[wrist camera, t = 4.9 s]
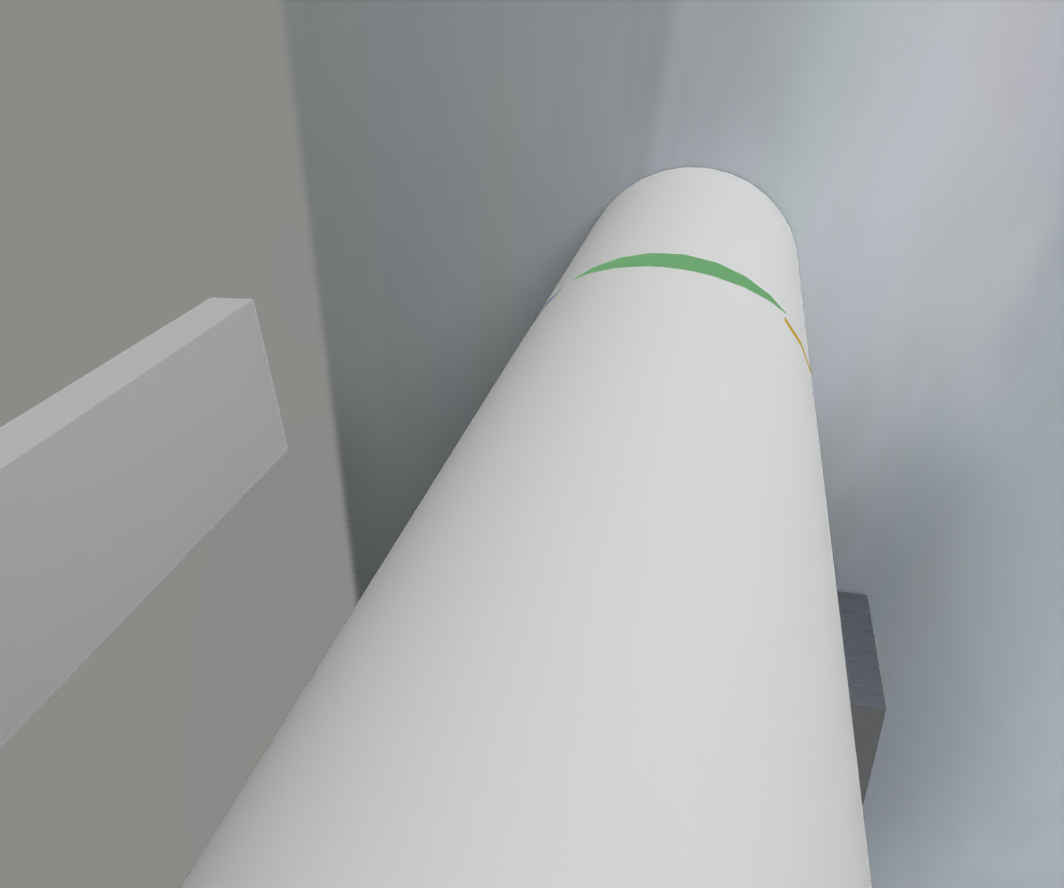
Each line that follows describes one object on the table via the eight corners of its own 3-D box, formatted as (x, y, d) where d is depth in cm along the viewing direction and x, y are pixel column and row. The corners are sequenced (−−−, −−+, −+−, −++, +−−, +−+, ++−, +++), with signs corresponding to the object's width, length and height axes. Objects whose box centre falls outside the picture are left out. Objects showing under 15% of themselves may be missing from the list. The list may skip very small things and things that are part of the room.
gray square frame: (502, 554, 21) (461, 649, 18) (867, 595, 19) (885, 709, 16) (522, 779, 26) (491, 883, 23) (819, 831, 24) (826, 953, 21)
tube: (841, 299, 16) (1124, 1531, 3) (663, 406, 18) (443, 1415, 6) (716, 117, 15) (473, 966, 2) (542, 253, 17) (-74, 1083, 4)
